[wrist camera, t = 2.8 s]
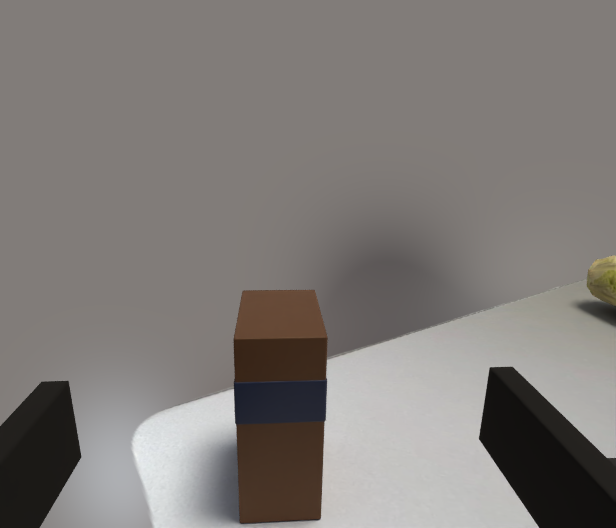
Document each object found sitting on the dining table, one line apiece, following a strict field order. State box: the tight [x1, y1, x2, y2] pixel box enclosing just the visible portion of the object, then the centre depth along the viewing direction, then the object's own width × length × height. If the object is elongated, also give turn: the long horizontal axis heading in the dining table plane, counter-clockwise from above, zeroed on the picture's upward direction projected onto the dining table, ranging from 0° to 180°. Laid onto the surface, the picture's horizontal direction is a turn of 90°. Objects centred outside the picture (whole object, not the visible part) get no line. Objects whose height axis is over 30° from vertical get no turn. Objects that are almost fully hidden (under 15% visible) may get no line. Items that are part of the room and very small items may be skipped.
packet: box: [234, 290, 328, 523], centre depth 25 cm, size 6×4×11 cm
